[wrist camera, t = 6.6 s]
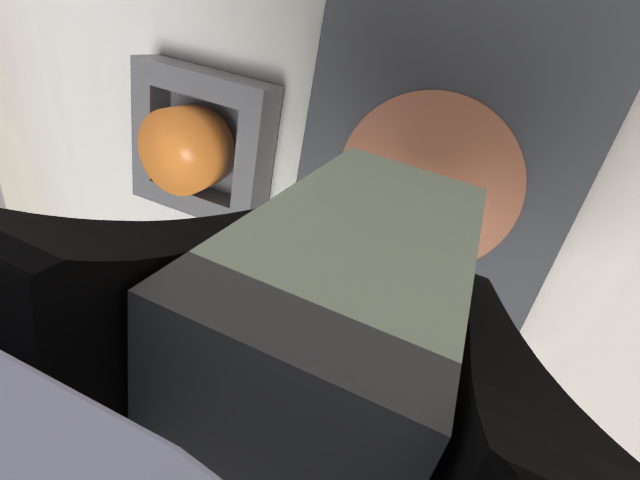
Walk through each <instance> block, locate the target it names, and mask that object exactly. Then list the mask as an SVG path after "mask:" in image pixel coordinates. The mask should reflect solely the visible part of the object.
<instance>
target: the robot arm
mask: <svg viewBox="0 0 640 480" xmlns="http://www.w3.org/2000/svg"><path fill="white" fill-rule="evenodd" d="M253 210H254V209H251V210H245V211H239V212H233V213H227V214H221V215H213V216H206V217H198V218H190V219H180V220H164V221H111V220H89V219H77V218H66V217H57V216H48V215H40V214H33V213H26V212H21V211H15V210H9V209H3V208H0V480H223V479H221V478H220V477H219V476H217V475H216V474H215V473H213V472H212V471H211V470H209V469H208V468H207V467H206V466H204V465H203V464H202V463H200V462H199V461H198V460H196V459H195V458H194V457H192V456H191V455H190V454H188V453H187V452H186V451H185V450H183V449H182V448H181V447H179V446H177V445H175V444H174V443H172V442H170V441H168V440H166V439H164V438H162V437H161V436H159V435H157V434H155V433H153V432H151V431H150V430H148V429H146V428H144V427H142V426H140V425H138V424H137V423H135V422H133V421H131V420H129V419H128V290H129V289H131V288H132V287H134V286H135V285H137V284H139V283H140V282H142V281H143V280H145V279H146V278H148V277H149V276H151V275H153V274H154V273H156V272H157V271H159V270H160V269H162V268H164V267H165V266H167V265H168V264H170V263H171V262H173V261H174V260H176V259H178V258H179V257H181V256H182V255H184V254H185V253H187V252H189V251H190V250H192V249H193V248H195V247H196V246H198V245H199V244H201V243H203V242H204V241H206V240H207V239H209V238H210V237H212V236H214V235H215V234H217V233H218V232H220V231H221V230H223V229H224V228H226V227H228V226H229V225H231V224H232V223H234V222H235V221H237V220H239V219H240V218H242V217H243V216H245V215H246V214H248V213H250V212H251V211H253ZM429 480H640V462H638V461H637V460H636V459H635V458H634V457H632V456H631V455H630V454H629V453H628V452H627V451H626V450H624V449H623V448H622V447H621V446H620V445H619V444H618V443H617V442H615V441H614V440H613V439H612V438H611V437H610V436H609V435H608V434H607V433H606V432H605V431H604V430H603V429H601V428H600V427H599V426H598V425H597V424H596V423H595V422H594V421H593V420H592V419H591V418H590V417H589V416H588V415H587V414H586V413H585V412H584V411H583V410H582V409H581V408H580V407H579V406H578V405H577V404H576V403H575V402H574V401H573V400H572V398H571V397H570V396H569V395H568V394H567V393H566V392H565V391H564V390H563V389H562V387H561V386H560V385H559V384H558V383H557V382H556V380H555V379H554V378H553V377H552V376H551V375H550V373H549V372H548V371H547V370H546V369H545V367H544V366H543V365H542V363H541V362H540V361H539V360H538V358H537V357H536V356H535V354H534V353H533V351H532V350H531V348H530V347H529V346H528V344H527V343H526V341H525V340H524V339H523V337H522V335H521V334H520V332H519V331H518V329H517V328H516V326H515V324H514V323H513V321H512V320H511V318H510V316H509V314H508V313H507V311H506V309H505V307H504V306H503V304H502V302H501V300H500V298H499V297H498V295H497V293H496V291H495V289H494V287H493V285H492V283H491V282H490V280H489V278H486V277H483V276H480V275H478V274H475V276H474V283H473V290H472V296H471V303H470V310H469V317H468V324H467V331H466V338H465V344H464V351H463V358H462V365H461V372H460V379H459V386H458V392H457V399H456V406H455V413H454V420H453V427H452V434H451V438H450V440H449V442H448V444H447V446H446V448H445V450H444V452H443V454H442V456H441V458H440V460H439V462H438V464H437V466H436V468H435V469H434V471H433V473H432V475H431V477H430V479H429Z"/></svg>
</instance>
